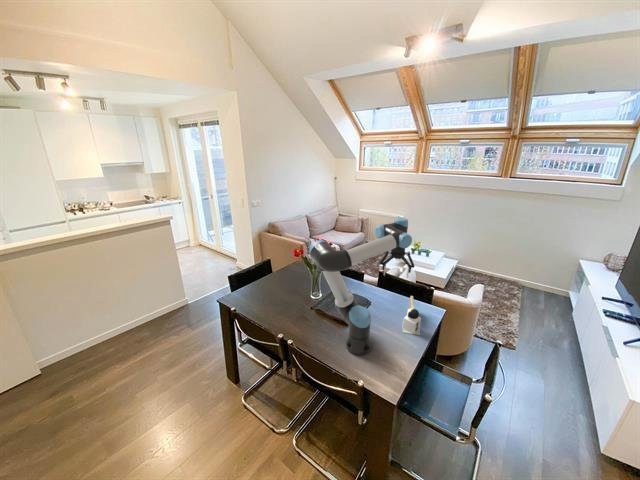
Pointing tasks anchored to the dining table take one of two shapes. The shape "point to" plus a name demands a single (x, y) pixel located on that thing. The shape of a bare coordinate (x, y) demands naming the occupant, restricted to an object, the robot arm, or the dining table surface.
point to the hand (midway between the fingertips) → (395, 275)
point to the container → (412, 321)
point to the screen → (411, 303)
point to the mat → (410, 332)
